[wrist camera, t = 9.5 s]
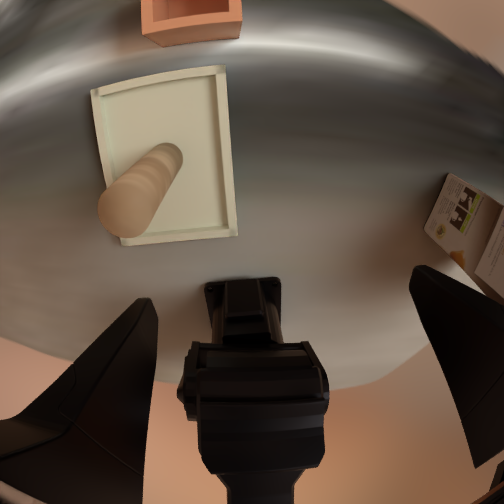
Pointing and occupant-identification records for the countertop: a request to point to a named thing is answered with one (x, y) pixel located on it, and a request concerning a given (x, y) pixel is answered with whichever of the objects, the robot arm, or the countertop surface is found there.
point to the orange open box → (190, 20)
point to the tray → (180, 134)
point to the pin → (139, 192)
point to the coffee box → (471, 233)
